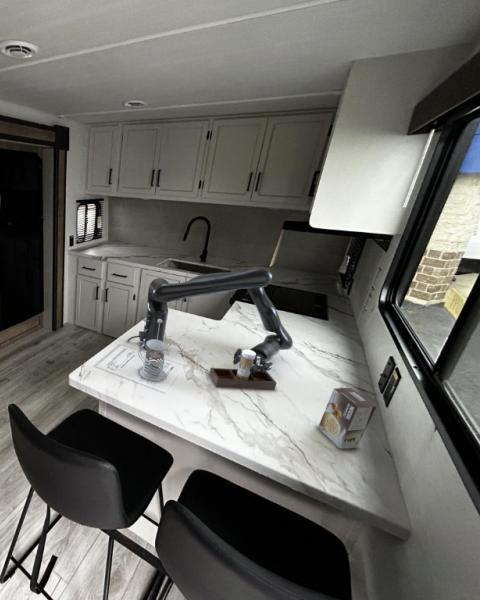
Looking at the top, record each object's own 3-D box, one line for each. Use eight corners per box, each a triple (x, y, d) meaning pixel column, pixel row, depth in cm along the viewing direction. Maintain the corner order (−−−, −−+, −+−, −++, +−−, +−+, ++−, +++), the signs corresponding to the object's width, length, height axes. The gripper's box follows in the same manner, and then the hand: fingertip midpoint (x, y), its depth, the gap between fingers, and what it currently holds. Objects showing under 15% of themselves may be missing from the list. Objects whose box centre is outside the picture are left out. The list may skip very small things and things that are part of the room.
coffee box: (358, 448, 98) (378, 407, 92) (339, 449, 97) (358, 407, 91) (334, 426, 106) (351, 387, 100) (316, 426, 106) (332, 387, 100)
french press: (159, 384, 124) (168, 327, 114) (132, 374, 129) (139, 319, 120) (167, 372, 131) (176, 318, 122) (141, 363, 137) (148, 310, 128)
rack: (274, 390, 123) (276, 382, 122) (216, 387, 124) (217, 379, 122) (263, 377, 131) (266, 370, 129) (208, 374, 131) (210, 367, 130)
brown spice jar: (232, 377, 129) (240, 349, 124) (242, 376, 129) (250, 348, 124) (239, 384, 124) (248, 355, 119) (250, 383, 125) (258, 354, 120)
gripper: (247, 338, 136) (227, 349, 126) (283, 353, 126) (264, 366, 116) (243, 353, 139) (223, 365, 129) (277, 368, 128) (259, 383, 119)
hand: (242, 366), depth 122 cm, fingers open, 5 cm apart
